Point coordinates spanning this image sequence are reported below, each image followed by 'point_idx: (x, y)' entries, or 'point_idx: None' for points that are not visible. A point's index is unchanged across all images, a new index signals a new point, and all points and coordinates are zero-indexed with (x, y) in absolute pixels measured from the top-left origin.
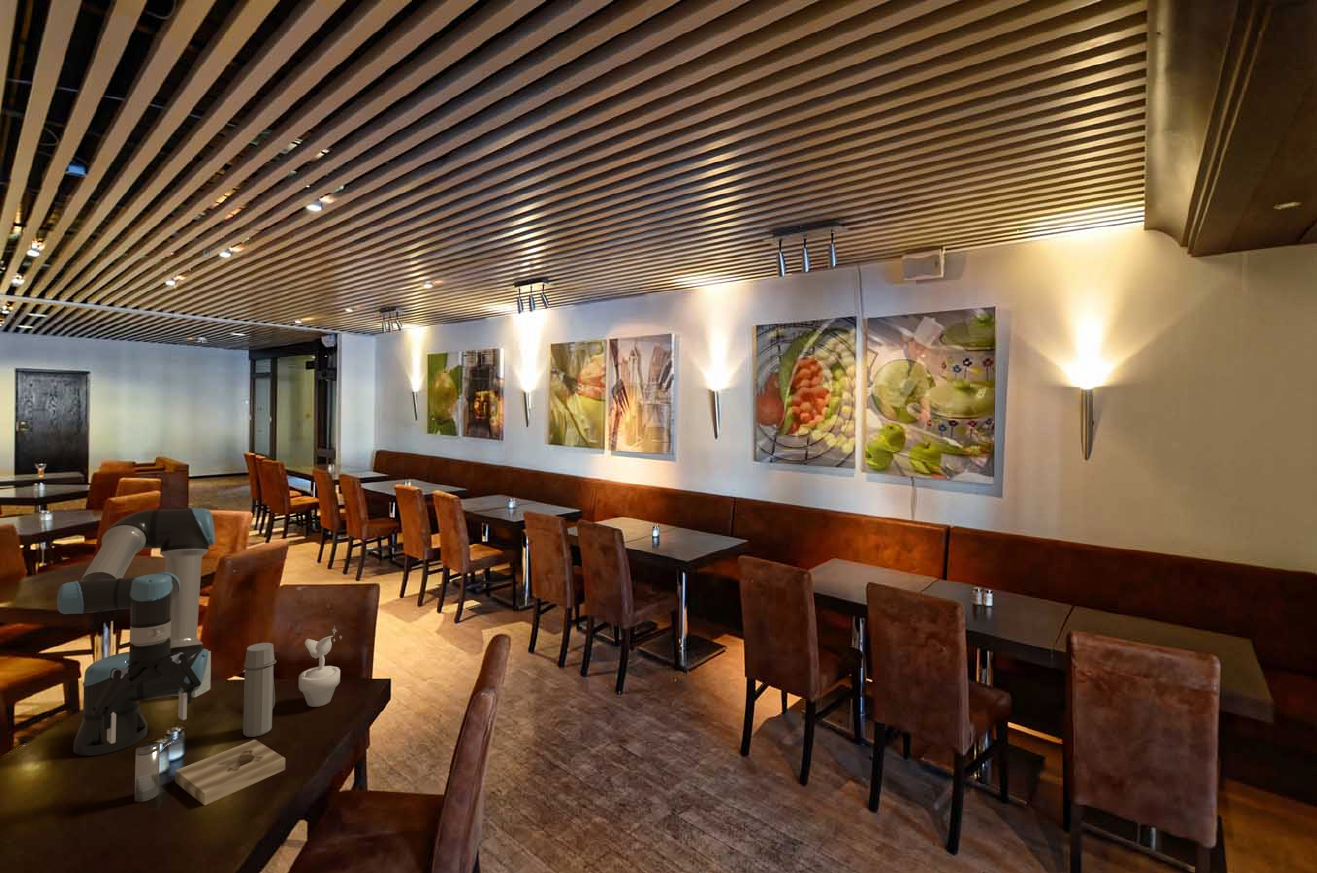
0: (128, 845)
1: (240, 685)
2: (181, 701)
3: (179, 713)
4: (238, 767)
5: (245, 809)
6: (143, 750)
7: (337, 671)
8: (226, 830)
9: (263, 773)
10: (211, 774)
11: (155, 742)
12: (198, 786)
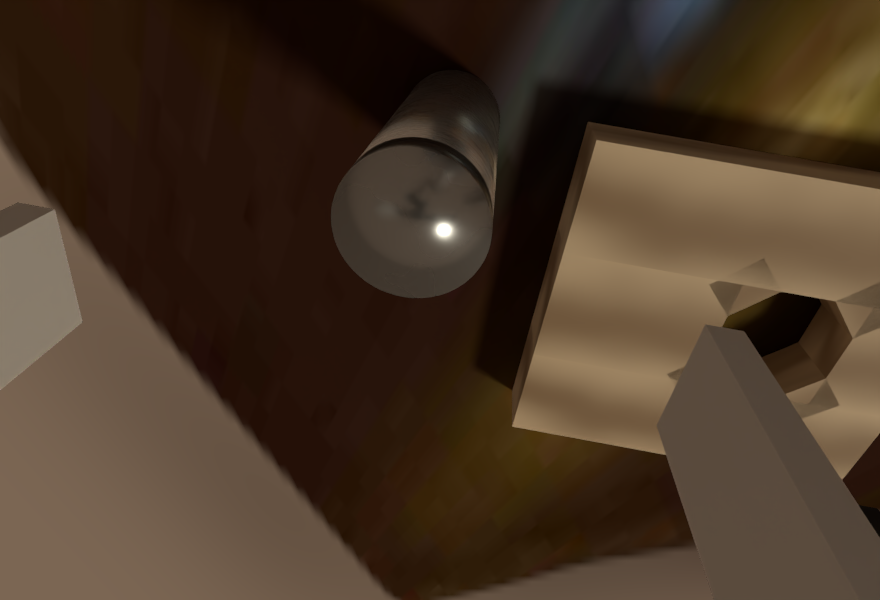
0: (275, 374)
1: None
2: (757, 589)
3: (710, 387)
4: None
5: (551, 501)
6: (361, 262)
7: None
8: (459, 526)
9: None
10: (627, 338)
11: (477, 214)
12: (534, 371)
